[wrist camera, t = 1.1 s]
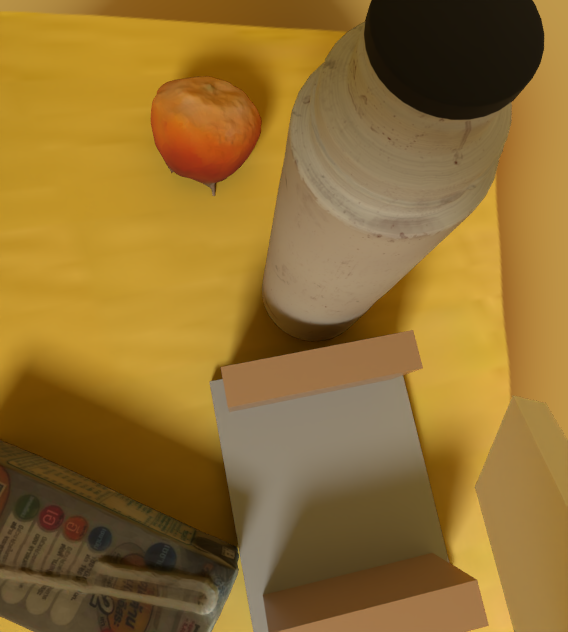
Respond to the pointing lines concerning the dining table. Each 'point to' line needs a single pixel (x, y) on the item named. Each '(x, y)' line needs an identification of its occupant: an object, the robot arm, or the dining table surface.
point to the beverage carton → (101, 557)
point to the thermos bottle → (391, 151)
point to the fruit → (204, 128)
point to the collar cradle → (337, 494)
